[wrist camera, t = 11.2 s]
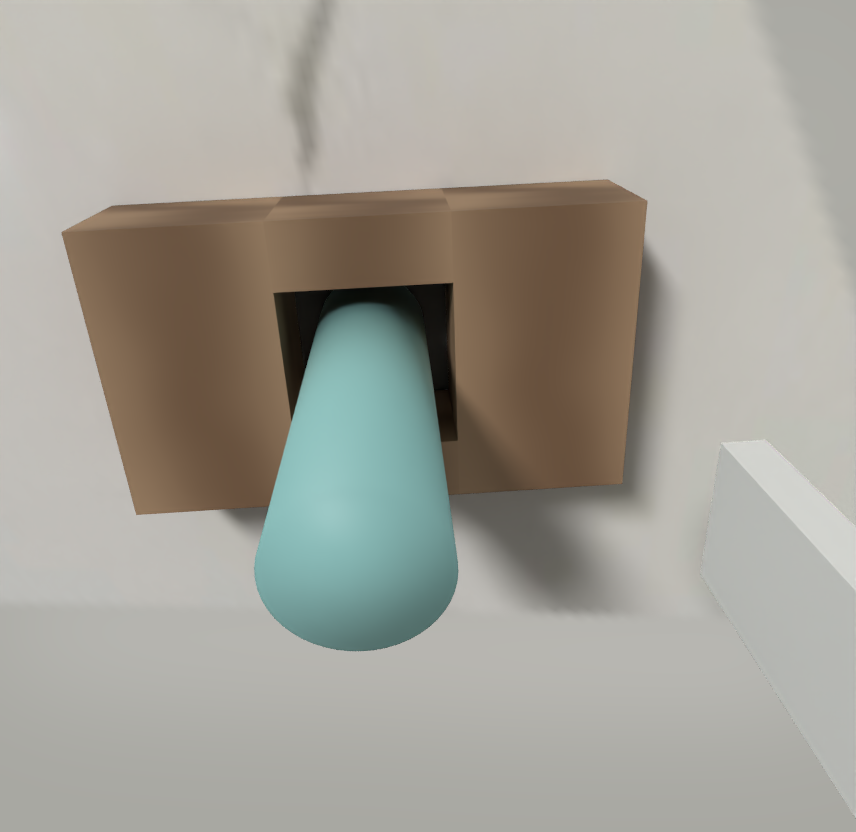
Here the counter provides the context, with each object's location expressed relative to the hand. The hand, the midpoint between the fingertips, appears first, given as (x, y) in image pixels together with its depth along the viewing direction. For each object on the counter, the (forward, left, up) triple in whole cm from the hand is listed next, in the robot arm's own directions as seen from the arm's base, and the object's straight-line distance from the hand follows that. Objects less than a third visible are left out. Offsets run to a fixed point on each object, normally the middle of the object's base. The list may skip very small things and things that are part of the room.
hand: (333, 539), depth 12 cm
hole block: (0, 0, -11) cm, 11 cm away
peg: (0, 0, -11) cm, 11 cm away
